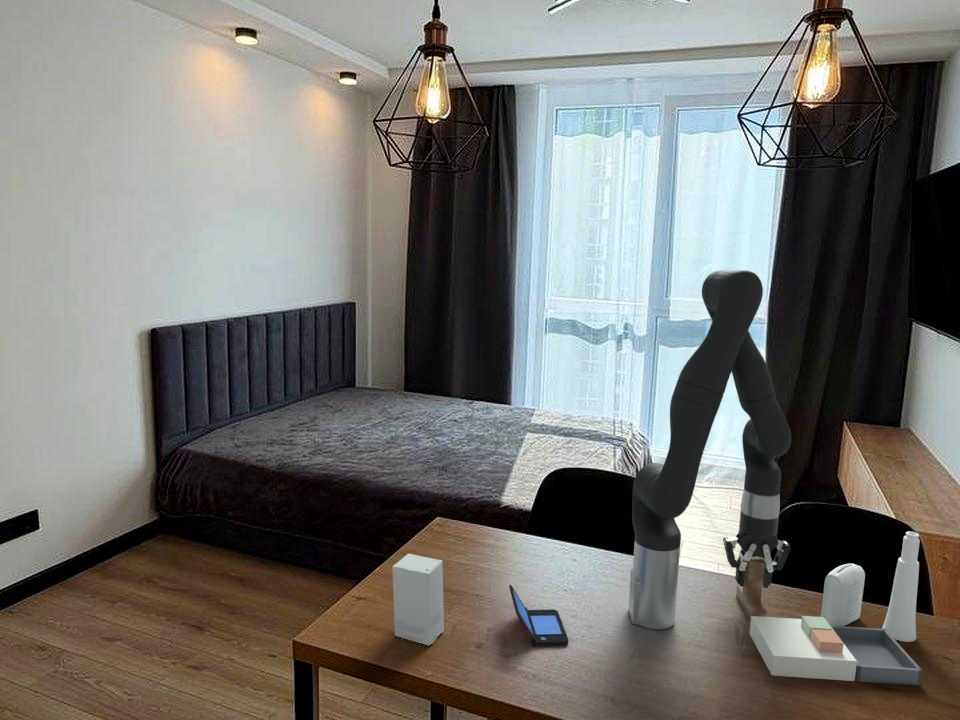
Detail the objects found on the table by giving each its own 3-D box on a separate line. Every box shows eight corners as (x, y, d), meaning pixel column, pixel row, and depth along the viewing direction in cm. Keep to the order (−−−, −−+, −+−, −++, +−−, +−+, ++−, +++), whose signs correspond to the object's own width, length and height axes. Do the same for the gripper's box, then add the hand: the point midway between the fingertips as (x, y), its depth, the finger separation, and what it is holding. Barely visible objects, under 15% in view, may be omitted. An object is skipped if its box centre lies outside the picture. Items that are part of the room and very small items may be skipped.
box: (856, 681, 125) (858, 666, 125) (825, 638, 138) (827, 625, 138) (920, 685, 124) (922, 670, 124) (883, 642, 138) (885, 629, 137)
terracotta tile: (818, 651, 127) (820, 641, 127) (810, 638, 131) (811, 629, 131) (842, 653, 127) (843, 643, 127) (832, 640, 131) (834, 630, 131)
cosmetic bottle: (878, 623, 144) (891, 525, 141) (910, 628, 143) (924, 529, 139) (886, 639, 139) (900, 537, 135) (920, 644, 137) (935, 541, 133)
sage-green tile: (808, 637, 132) (810, 627, 132) (800, 625, 136) (801, 615, 136) (831, 638, 132) (832, 628, 131) (822, 626, 136) (823, 617, 135)
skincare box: (444, 632, 138) (445, 560, 136) (428, 649, 132) (429, 574, 130) (408, 621, 142) (408, 551, 139) (391, 638, 136) (391, 565, 133)
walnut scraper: (750, 623, 144) (755, 570, 142) (736, 597, 155) (740, 547, 152) (765, 624, 143) (770, 571, 141) (749, 597, 154) (754, 548, 152)
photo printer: (843, 609, 150) (849, 556, 148) (862, 618, 147) (869, 564, 144) (816, 622, 145) (822, 568, 142) (836, 632, 141) (843, 576, 139)
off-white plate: (771, 675, 126) (773, 655, 126) (749, 634, 140) (751, 616, 139) (854, 681, 125) (857, 661, 124) (824, 638, 138) (826, 620, 138)
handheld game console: (569, 647, 134) (571, 612, 133) (515, 649, 133) (516, 613, 132) (557, 613, 147) (558, 581, 145) (507, 614, 146) (508, 582, 144)
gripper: (730, 515, 142) (723, 592, 145) (801, 519, 141) (793, 596, 144) (720, 502, 149) (714, 575, 152) (788, 505, 148) (780, 579, 151)
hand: (752, 585), depth 148 cm, fingers open, 4 cm apart
